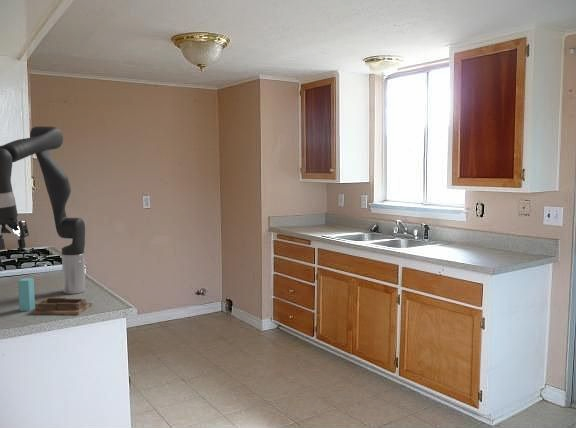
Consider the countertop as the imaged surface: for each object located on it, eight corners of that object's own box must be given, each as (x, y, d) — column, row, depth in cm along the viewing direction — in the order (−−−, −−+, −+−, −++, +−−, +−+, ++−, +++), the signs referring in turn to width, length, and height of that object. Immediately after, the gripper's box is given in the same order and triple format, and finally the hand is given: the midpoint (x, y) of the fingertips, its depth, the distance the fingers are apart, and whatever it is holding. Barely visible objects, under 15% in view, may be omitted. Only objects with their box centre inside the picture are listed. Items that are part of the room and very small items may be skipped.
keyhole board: (47, 304, 210) (47, 296, 210) (91, 305, 210) (91, 296, 210) (31, 314, 198) (31, 305, 197) (78, 314, 197) (77, 305, 197)
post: (25, 307, 206) (23, 278, 205) (35, 308, 206) (33, 278, 205) (19, 310, 202) (18, 280, 201) (29, 310, 202) (28, 280, 201)
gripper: (28, 202, 186) (36, 246, 190) (-5, 203, 190) (3, 246, 193) (13, 206, 179) (21, 251, 183) (-22, 207, 183) (-13, 252, 186)
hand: (12, 249), depth 188 cm, fingers open, 8 cm apart
